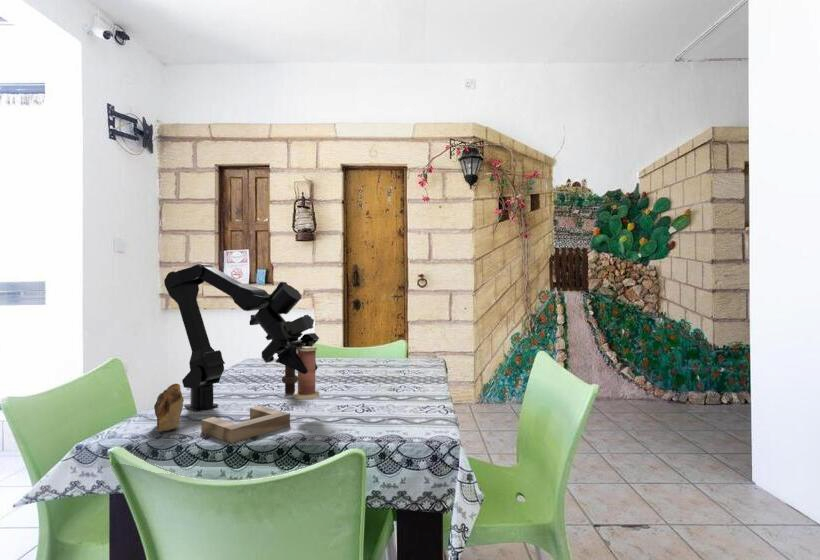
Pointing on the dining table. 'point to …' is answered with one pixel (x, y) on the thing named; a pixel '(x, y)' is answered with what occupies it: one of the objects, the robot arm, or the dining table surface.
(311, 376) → the bobbin
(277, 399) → the dining table surface
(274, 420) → the notch board
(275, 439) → the dining table surface
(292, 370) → the bolt
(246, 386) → the dining table surface
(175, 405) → the decorative rock
